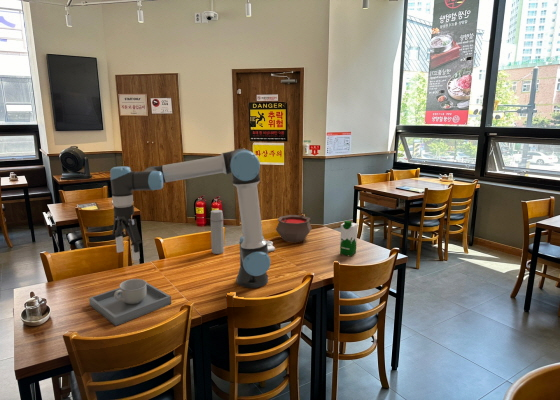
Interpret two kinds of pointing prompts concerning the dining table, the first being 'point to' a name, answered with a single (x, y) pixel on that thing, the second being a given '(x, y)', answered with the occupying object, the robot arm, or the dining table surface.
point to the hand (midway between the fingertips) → (128, 255)
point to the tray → (128, 305)
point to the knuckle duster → (270, 246)
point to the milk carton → (348, 238)
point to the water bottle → (217, 232)
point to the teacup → (132, 291)
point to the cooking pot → (293, 227)
